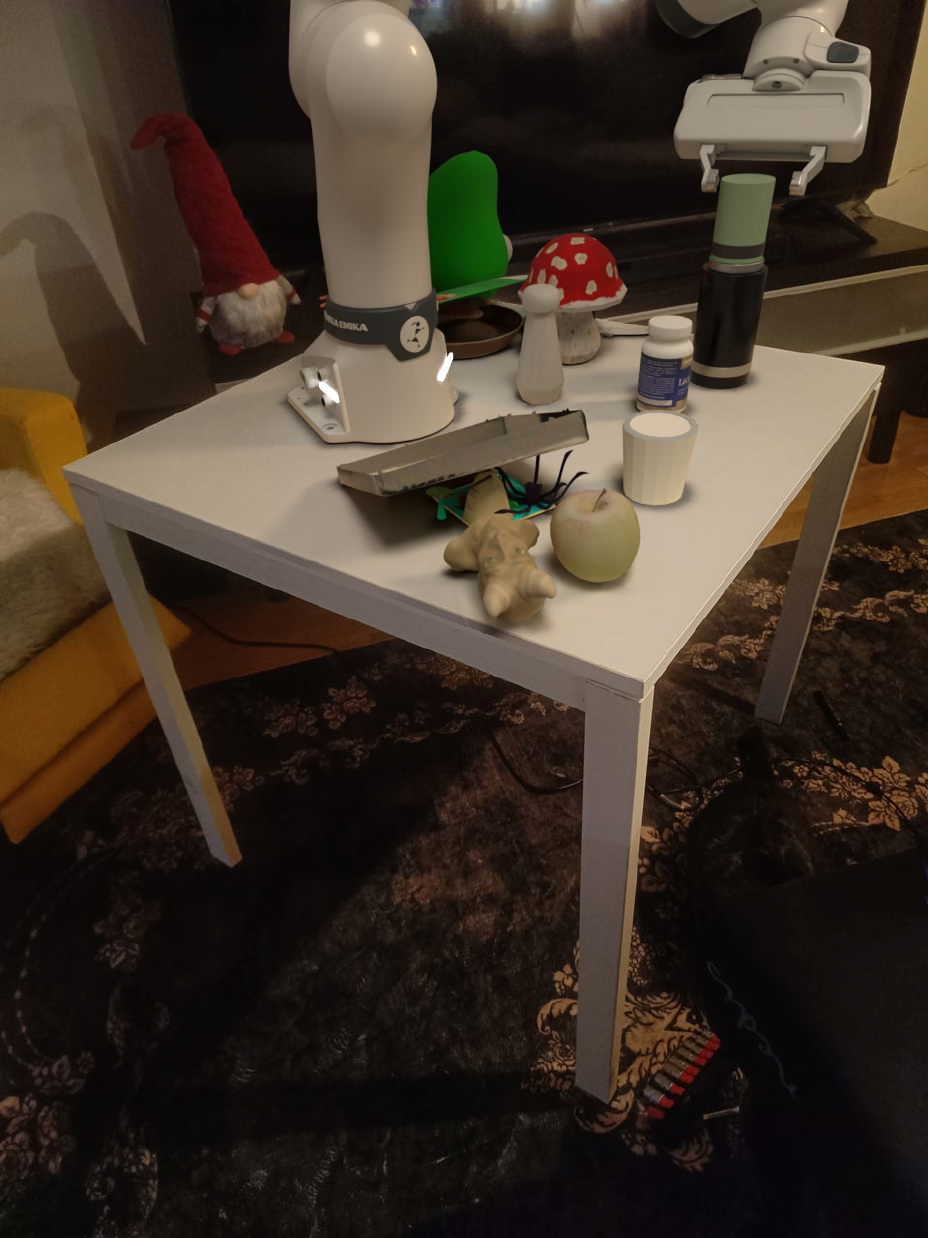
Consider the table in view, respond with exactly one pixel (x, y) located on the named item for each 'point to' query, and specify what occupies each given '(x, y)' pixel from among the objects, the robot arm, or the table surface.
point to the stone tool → (462, 308)
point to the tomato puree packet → (478, 288)
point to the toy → (465, 224)
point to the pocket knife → (619, 331)
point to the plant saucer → (481, 332)
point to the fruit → (595, 534)
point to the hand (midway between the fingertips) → (751, 190)
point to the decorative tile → (465, 451)
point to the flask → (727, 323)
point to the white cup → (657, 455)
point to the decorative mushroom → (577, 290)
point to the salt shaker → (540, 347)
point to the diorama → (498, 496)
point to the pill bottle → (665, 365)
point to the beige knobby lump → (503, 566)
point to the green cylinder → (742, 218)
